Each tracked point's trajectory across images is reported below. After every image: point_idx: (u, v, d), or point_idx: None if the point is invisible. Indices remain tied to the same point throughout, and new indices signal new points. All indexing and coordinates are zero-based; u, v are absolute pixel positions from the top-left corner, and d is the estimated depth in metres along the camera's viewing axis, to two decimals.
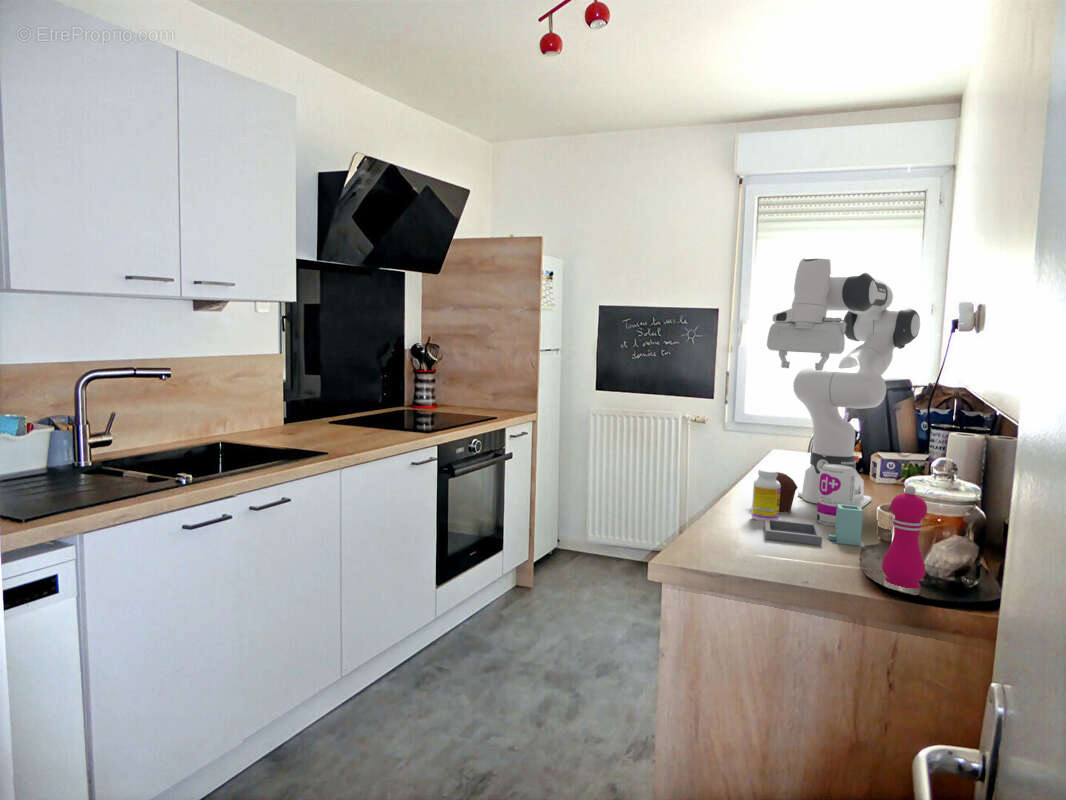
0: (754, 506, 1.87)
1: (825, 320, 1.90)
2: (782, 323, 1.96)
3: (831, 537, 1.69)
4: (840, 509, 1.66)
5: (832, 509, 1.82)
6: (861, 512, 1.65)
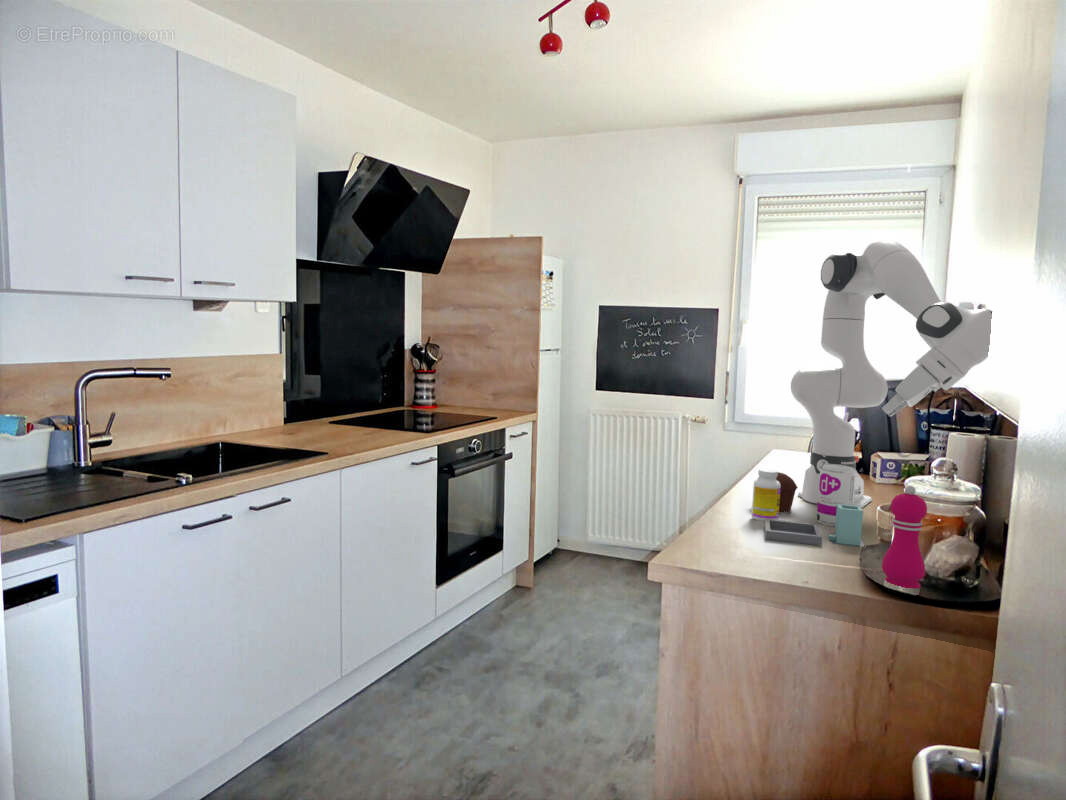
0: (754, 506, 1.87)
1: None
2: (938, 383, 1.56)
3: (831, 537, 1.69)
4: (840, 509, 1.66)
5: (832, 509, 1.82)
6: (861, 512, 1.65)
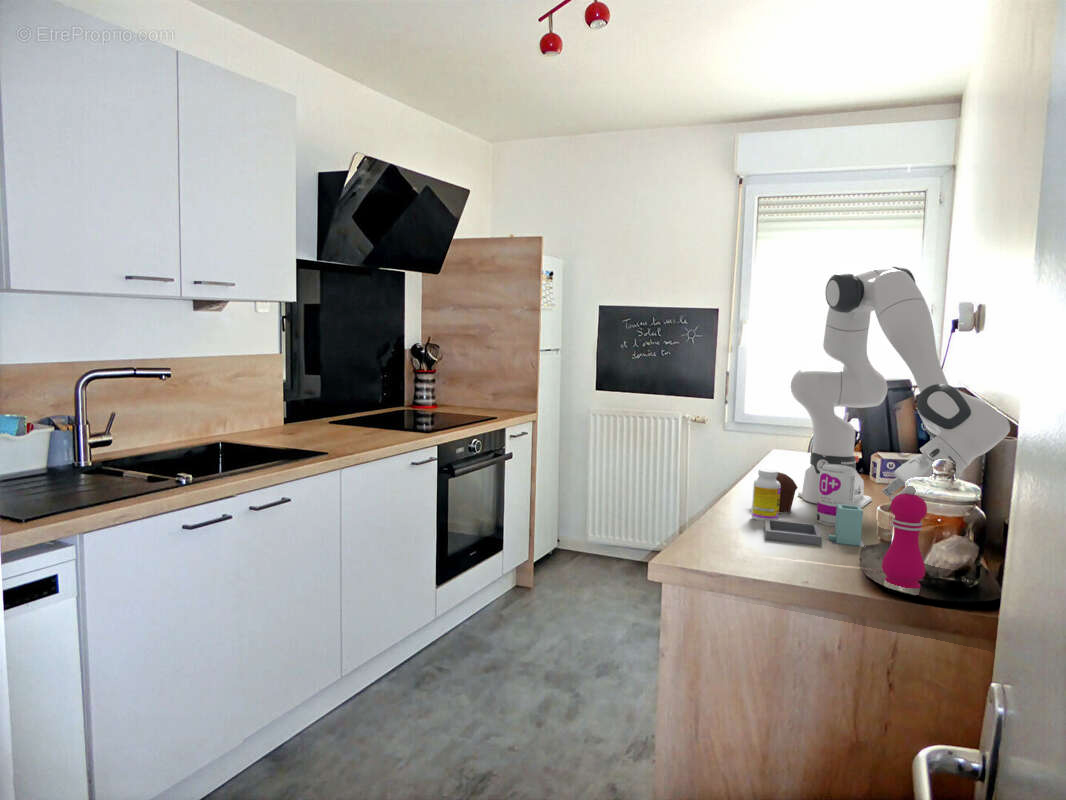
0: (754, 506, 1.87)
1: None
2: None
3: (831, 537, 1.69)
4: (840, 509, 1.66)
5: (832, 509, 1.82)
6: (861, 512, 1.65)
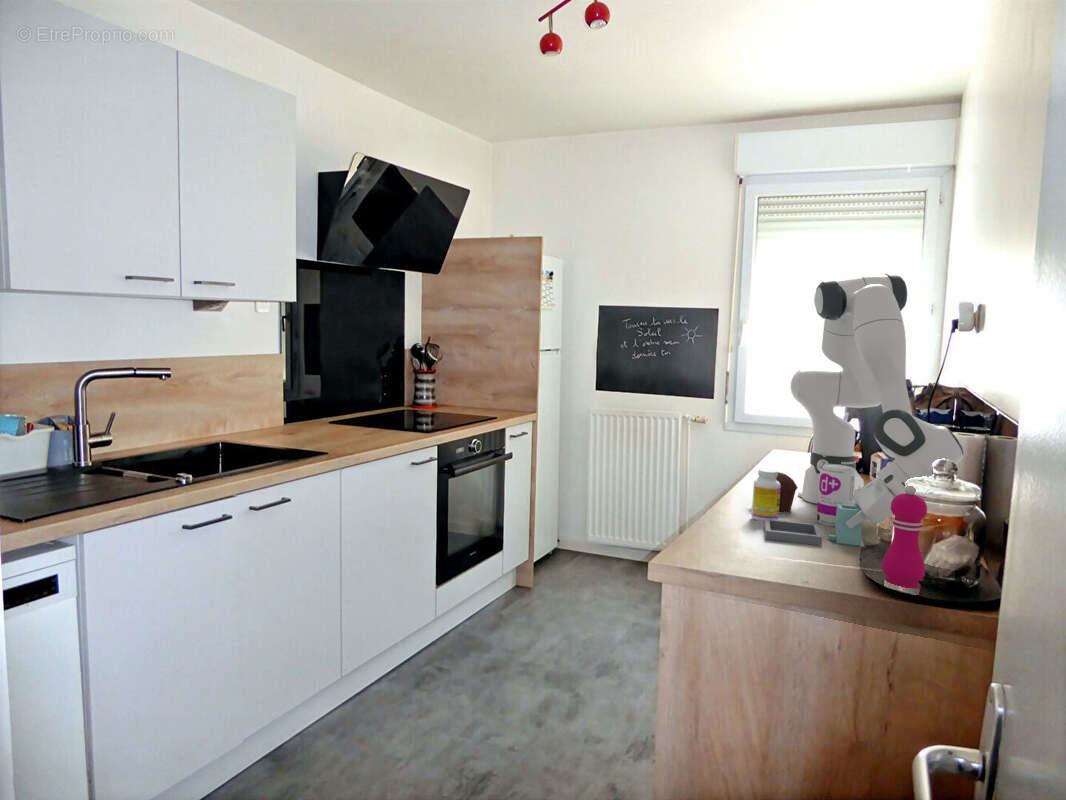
0: (754, 506, 1.87)
1: None
2: None
3: (831, 537, 1.69)
4: (840, 509, 1.66)
5: (832, 509, 1.82)
6: None
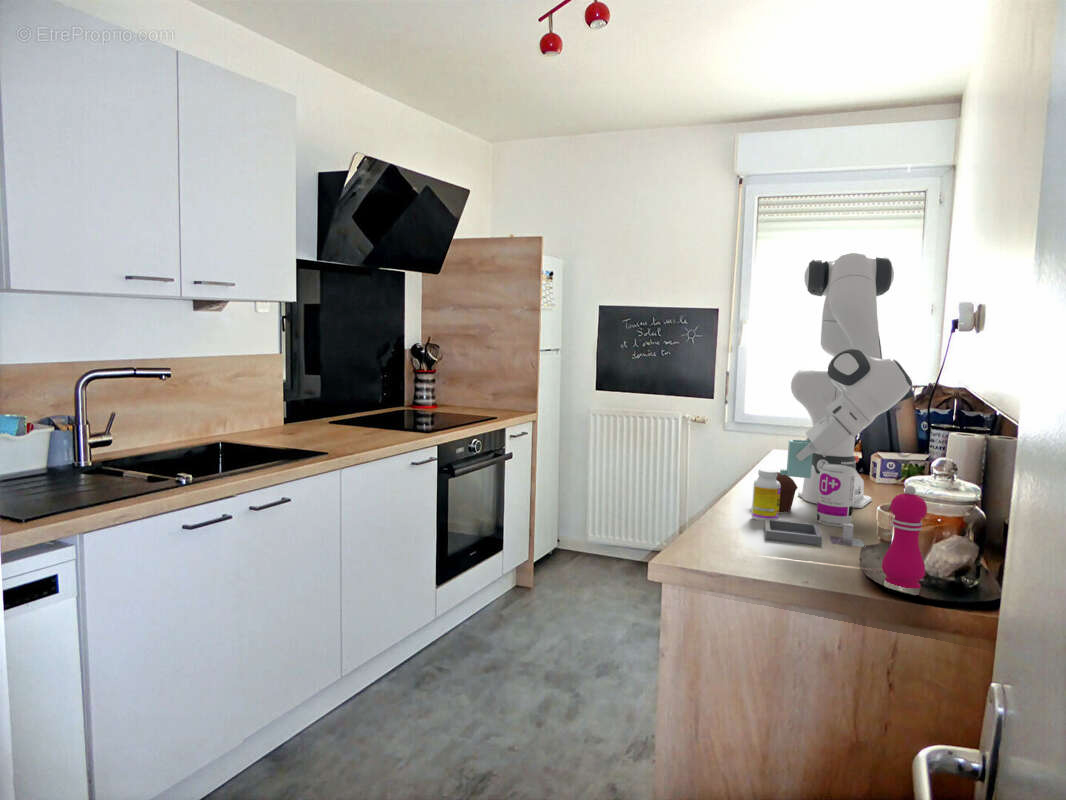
0: (754, 506, 1.87)
1: None
2: None
3: (782, 471, 1.70)
4: (791, 442, 1.67)
5: (832, 509, 1.82)
6: None
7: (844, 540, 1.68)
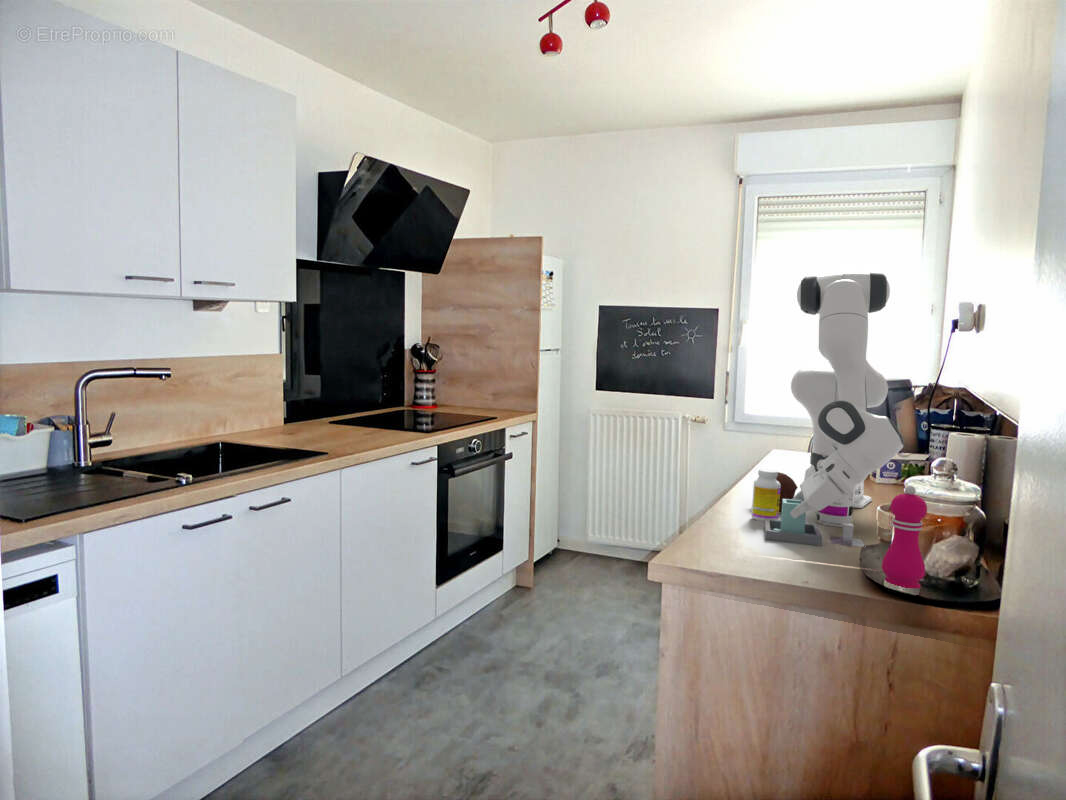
0: (754, 506, 1.87)
1: None
2: None
3: None
4: (784, 503, 1.69)
5: (832, 509, 1.82)
6: None
7: (844, 540, 1.68)
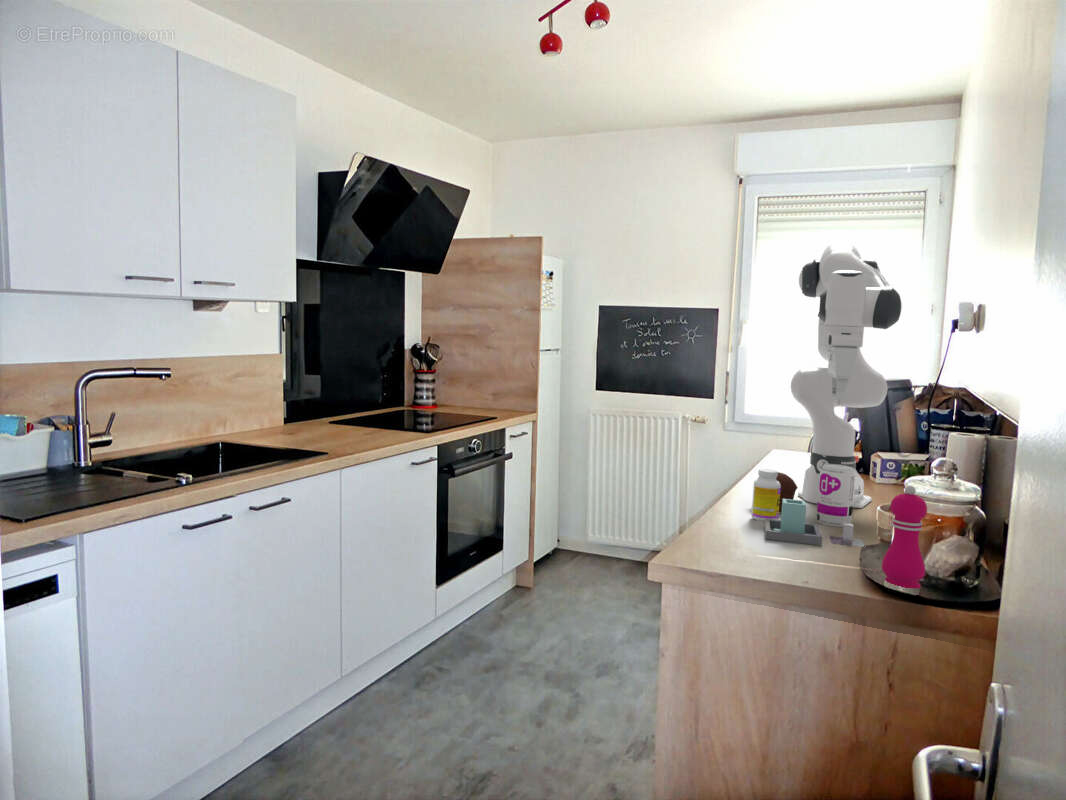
0: (754, 506, 1.87)
1: None
2: None
3: None
4: (784, 503, 1.69)
5: (832, 509, 1.82)
6: (804, 506, 1.68)
7: (844, 540, 1.68)
